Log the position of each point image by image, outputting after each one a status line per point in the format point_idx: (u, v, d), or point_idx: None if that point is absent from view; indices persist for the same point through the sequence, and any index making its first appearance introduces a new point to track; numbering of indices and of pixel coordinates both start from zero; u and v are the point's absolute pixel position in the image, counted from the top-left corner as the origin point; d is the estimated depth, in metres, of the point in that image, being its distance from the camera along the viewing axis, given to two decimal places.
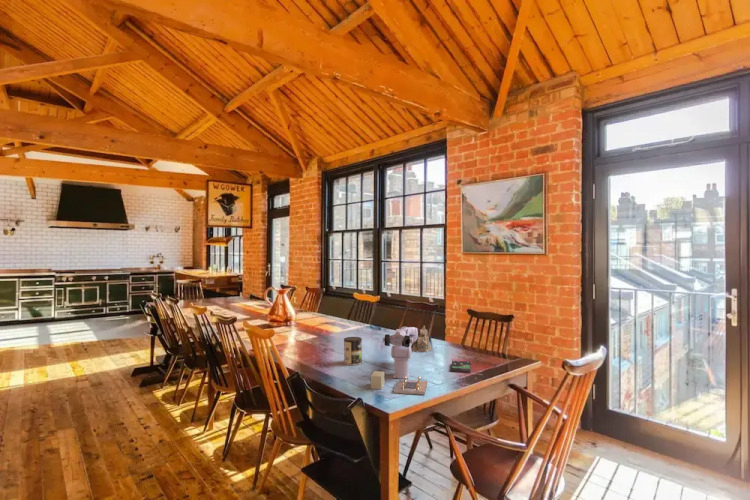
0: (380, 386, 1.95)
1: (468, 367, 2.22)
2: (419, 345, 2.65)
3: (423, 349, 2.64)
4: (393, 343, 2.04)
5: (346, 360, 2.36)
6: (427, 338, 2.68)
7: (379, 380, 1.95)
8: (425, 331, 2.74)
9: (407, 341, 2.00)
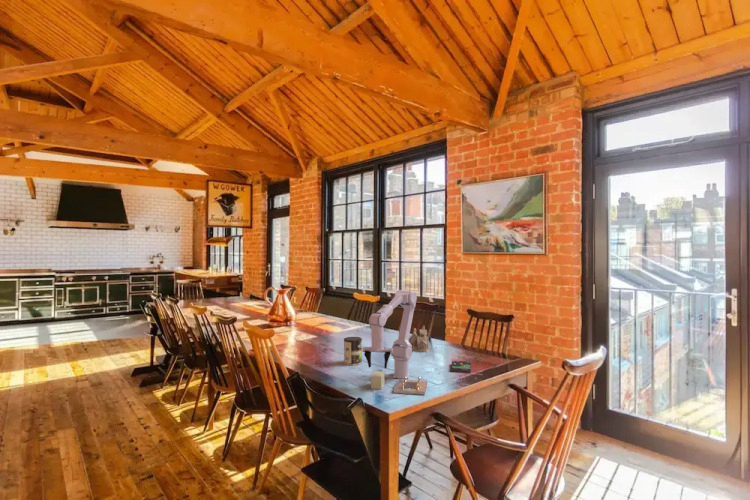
0: (380, 386, 1.95)
1: (468, 367, 2.22)
2: (419, 345, 2.65)
3: (423, 349, 2.64)
4: None
5: (346, 360, 2.36)
6: (427, 338, 2.68)
7: (379, 380, 1.95)
8: (425, 331, 2.74)
9: None
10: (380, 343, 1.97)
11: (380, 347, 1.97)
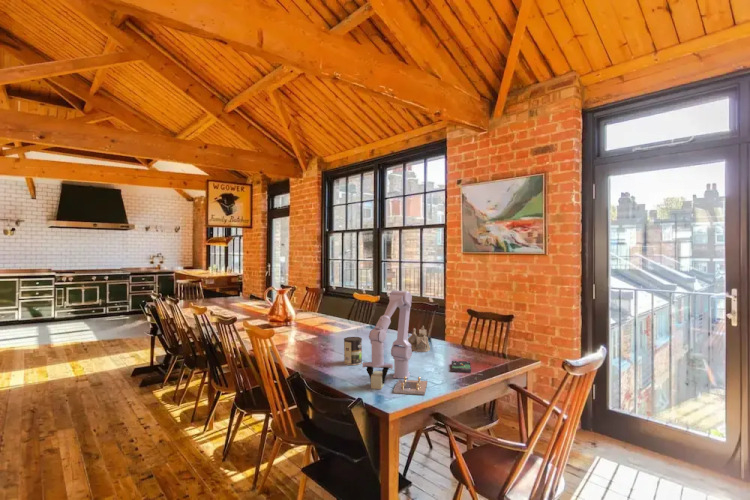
0: (380, 386, 1.95)
1: (468, 367, 2.22)
2: (418, 345, 2.65)
3: (422, 349, 2.64)
4: None
5: (346, 360, 2.36)
6: (426, 338, 2.68)
7: (379, 380, 1.95)
8: (424, 331, 2.74)
9: None
10: (380, 359, 1.97)
11: (380, 363, 1.97)
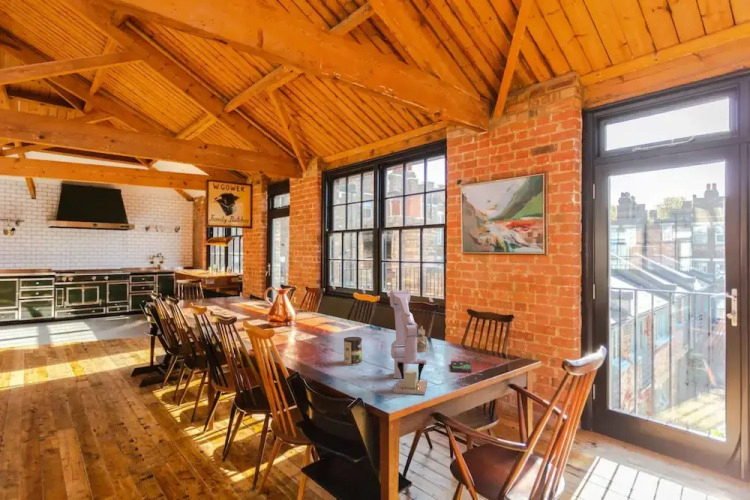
0: (414, 385, 1.91)
1: (469, 367, 2.22)
2: (417, 345, 2.64)
3: (421, 349, 2.64)
4: None
5: (346, 360, 2.36)
6: (425, 338, 2.68)
7: (413, 379, 1.91)
8: (423, 331, 2.73)
9: None
10: (414, 355, 1.93)
11: (414, 359, 1.93)
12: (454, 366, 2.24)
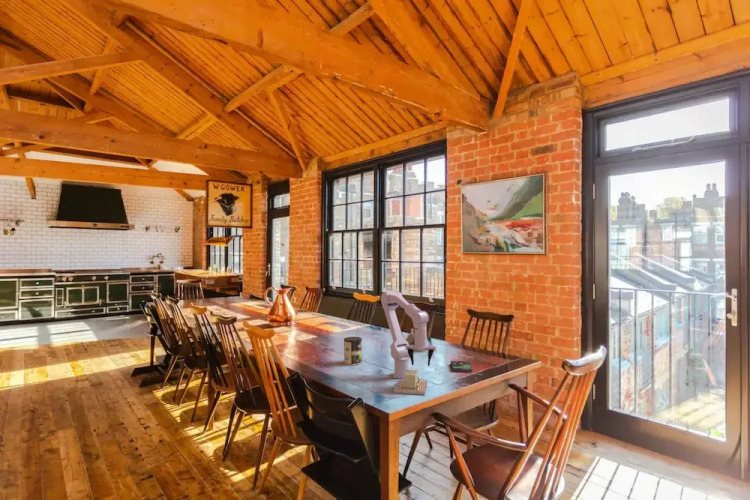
0: (414, 385, 1.91)
1: (469, 367, 2.23)
2: None
3: None
4: None
5: (346, 360, 2.36)
6: None
7: (413, 379, 1.91)
8: None
9: None
10: (424, 341, 1.98)
11: (424, 345, 1.98)
12: (454, 366, 2.24)
